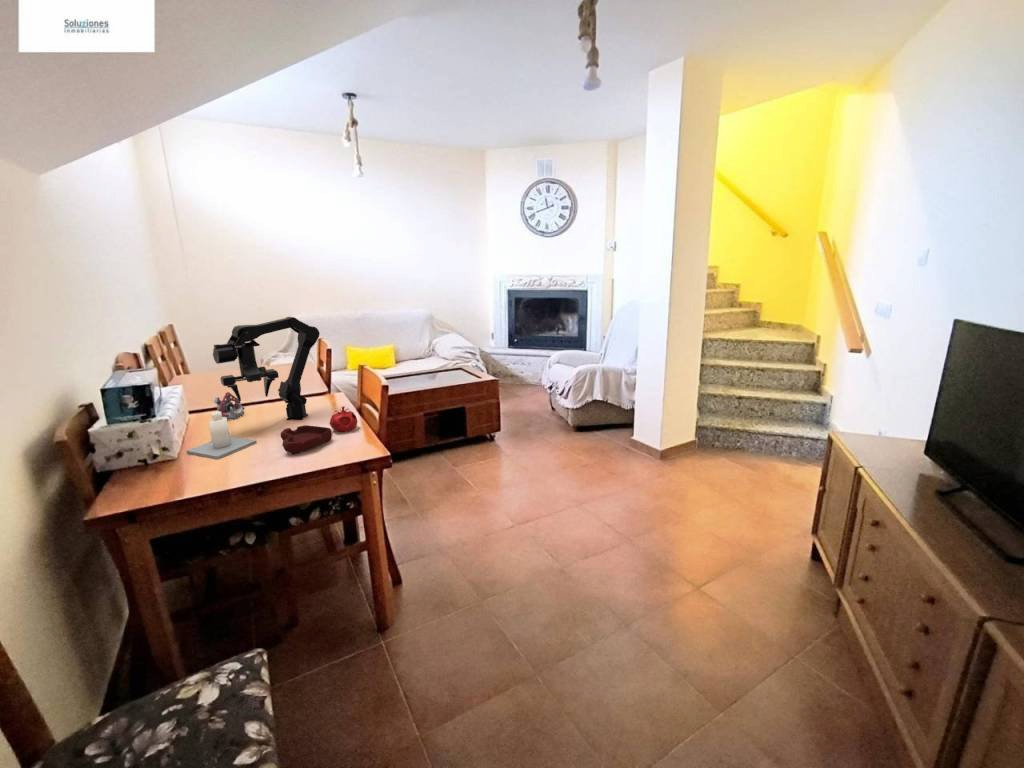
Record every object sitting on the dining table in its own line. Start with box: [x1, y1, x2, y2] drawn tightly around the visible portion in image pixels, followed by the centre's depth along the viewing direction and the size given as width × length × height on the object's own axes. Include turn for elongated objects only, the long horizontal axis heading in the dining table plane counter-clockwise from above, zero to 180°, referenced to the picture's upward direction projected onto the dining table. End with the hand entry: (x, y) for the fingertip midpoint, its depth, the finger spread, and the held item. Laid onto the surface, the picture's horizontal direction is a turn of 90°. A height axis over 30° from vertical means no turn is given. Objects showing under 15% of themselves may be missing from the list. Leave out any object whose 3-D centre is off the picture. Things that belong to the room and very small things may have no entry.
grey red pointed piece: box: [213, 391, 246, 420], centre depth 196 cm, size 11×11×12 cm
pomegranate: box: [329, 406, 358, 433], centre depth 179 cm, size 10×10×9 cm
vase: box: [208, 410, 231, 448], centre depth 162 cm, size 5×5×12 cm
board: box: [185, 435, 257, 460], centre depth 164 cm, size 15×15×1 cm
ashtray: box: [280, 424, 333, 455], centre depth 165 cm, size 18×16×5 cm
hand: (253, 398), depth 180 cm, fingers open, 9 cm apart
